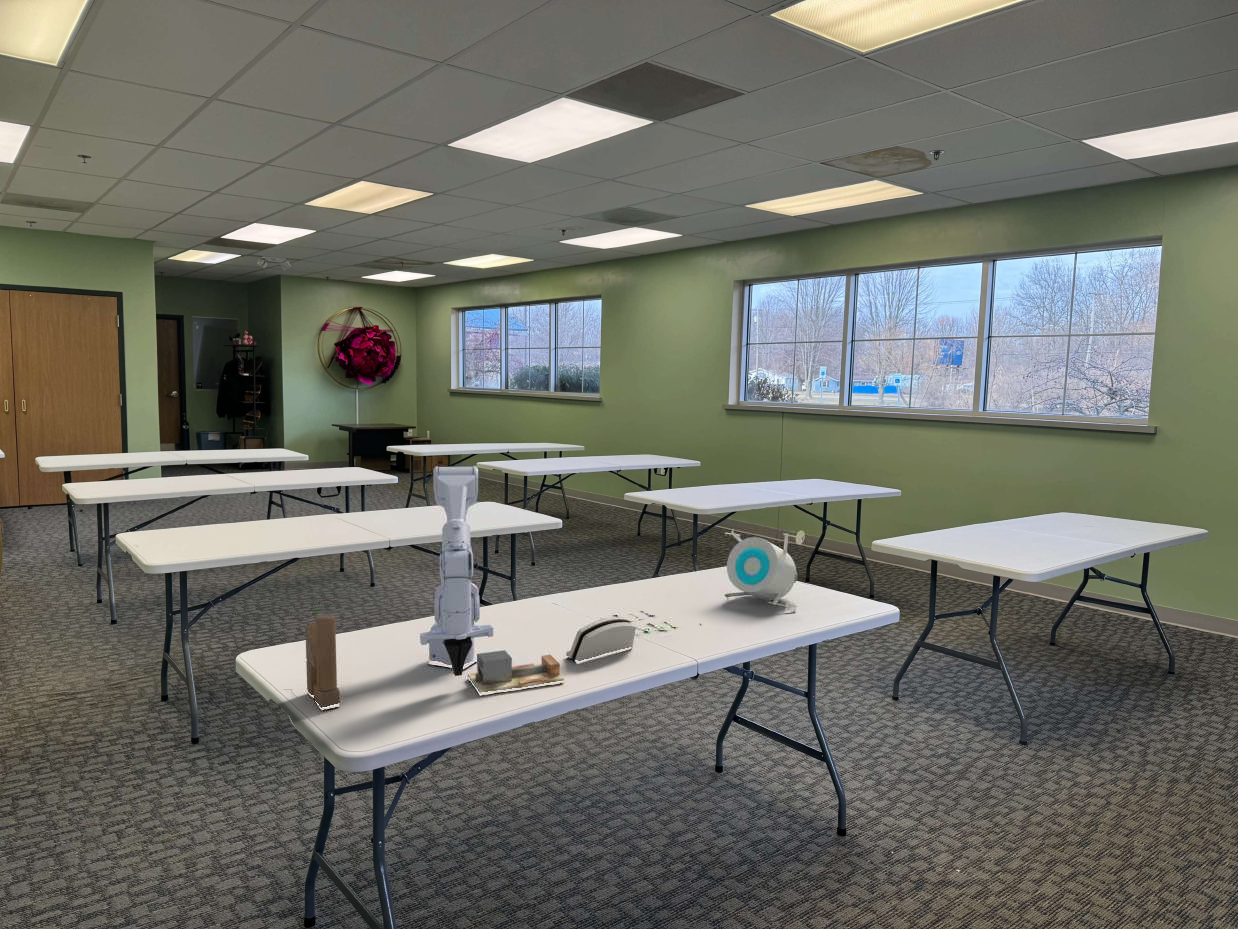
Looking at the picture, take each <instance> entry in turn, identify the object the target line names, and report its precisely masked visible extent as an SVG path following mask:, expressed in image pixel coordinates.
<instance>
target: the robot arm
mask: <svg viewBox="0 0 1238 929" xmlns="http://www.w3.org/2000/svg"><path fill="white" fill-rule="evenodd" d="M432 481H433V493H434V501H435V504H436V505H437V506H440V507H441V508H443V510H444V511H445V514H446V523H444V524H443V526H442V527H441V528H442V529H441V530H442V531H441V533H442V534H441V553H440V554H439V577H440V581H441V584H439V585H438V586H437V587H436V590H435V592H434V600H433V601H434V603H433V604H434V606H433V608H434V610H433V611H434V614H433V615H434V624H432V626H431V628H430V630H429V631H425V632H420V633H419V643H420V644H421V646H424V645H425V646H426V645H428V650H429V651H428V655H429V657H428V660H431V661H438V662H442V663H444V664H447V665H452V668H453V669H452V674H453V675H454V676H455V677H457V676H458V677H460V676H462V675H463V672H464V670H463V666H464V664H466V663H469V662H471V661H473V659H474V656H475V638H485V637H488V638H492V637H494V627H493V626H492V625H491V624H482V625H481V624H480V625H479V624H478V625H475V623H478V621H479V620H480V612H481V610H480V608H481V607H480V604H481V603H480V595H479V593H480V591H479V588H478V586H477V585H476V584H475V583H474V582H472V578H473V575H474V553H473V551H472V550H473V549H472V545H471V527H470V525H469V523H467V513H468V511H469V510H468V509H469V508H470V507H471V506H474V505H475V504H477V500H478V496H479V495H478V493H479V468H478V467H477V466H476V465H473V466H439V465H438V466H437V465H436V466H435V467H434V468H433V480H432ZM469 572H470V575H471V576H470V575H469Z"/></svg>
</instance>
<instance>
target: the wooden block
mask: <svg viewBox="0 0 1238 929" xmlns="http://www.w3.org/2000/svg"><path fill="white" fill-rule="evenodd" d="M314 620H315V621H314V623H311V624H305V627H304V628H305V655H306V656H305V658H306V662H305V663H306V691H307V690H308V692H309V693H310V694H311V695H314V699H315V701H316V702H317V703H318V704H319V706H320V707H321V708H322V707H327V706H330V705H334V704H338V703H340V702H341V699H340V698H341V696H340V695H341V694H340V692H341V691H340V689H339V688H338V680H337V679H338V678H337V677H338V676H337V670H338V669H337V645H336V644H337V643H336V642H337V640H336V639H337V636H336V616H335V615H334V614H332V613H322V614H321V613H320V614H318V615H317V616H315V618H314ZM314 699H313V700H314ZM340 704H341V703H340Z"/></svg>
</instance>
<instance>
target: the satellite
mask: <svg viewBox="0 0 1238 929" xmlns="http://www.w3.org/2000/svg"><path fill="white" fill-rule="evenodd" d="M805 533H806V532H805V531H804V530H799V531H798V532H797V533H796V535H792V534H789V532H786V533H782V535H783V536H784V542H783V549H782V548H780V547H778V546H777V545H776V544H773V543H772V542H770V541H768V540H767V539H765V538H761V537H758V536H754V537H746V538H744V539H741V534H739V533H738V534H737V533H734V528H732V530H731V532H730V533H729V532H727V531H726V532H724V534H725V536H726V535H731V536H733V538H734V539H736V540H737V542H738V543H737V544H736V545H734V547H733V548H732V549H731V550H730V553H729V555H728V558H727V561H726V572H727V576H728V579H729V581H730V582H731V583H732V585H733V586H734V587H735V588H737V589H738V590H739V591H741V592H729V593H724V595H723V596H724V597H725V598H727V599H729V598H732V597H743V596H753V597H754V598H755V597H756V598H758V599H760V600H763V601H768V603H769V604H773V605H774V606H776V605H779V606H783V607H785V609H784V610H785V611H789V612H793V613H796V612H797V607H798V605H797V604H794V603H790V602H786V603H785V604H780V603H778V602H779V600H780V599H781V598H783V597H785V596H786V595H788V594H789V593H790V591H791V590H792V589H793V587H794V585H795V584H796V583H797V581H798V572H797V567H796V564H795V562H794V559H793V557H791V555H790V554H789V553H788V543H789V537H793V538H795V543H796V544H797V545H802V544H803V543H804V541H805V538H806V537H805V536H806V534H805ZM771 601H772V602H771Z"/></svg>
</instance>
